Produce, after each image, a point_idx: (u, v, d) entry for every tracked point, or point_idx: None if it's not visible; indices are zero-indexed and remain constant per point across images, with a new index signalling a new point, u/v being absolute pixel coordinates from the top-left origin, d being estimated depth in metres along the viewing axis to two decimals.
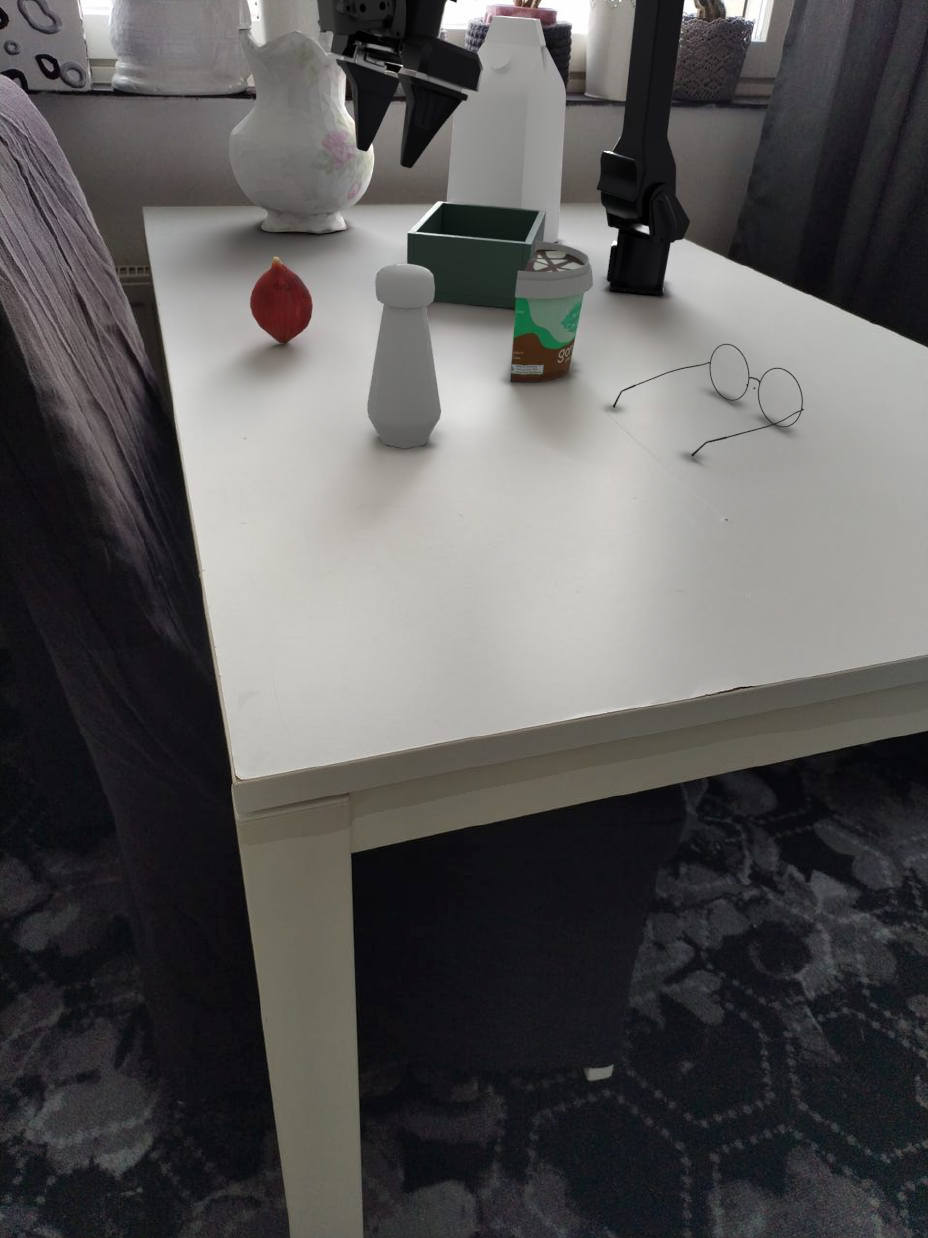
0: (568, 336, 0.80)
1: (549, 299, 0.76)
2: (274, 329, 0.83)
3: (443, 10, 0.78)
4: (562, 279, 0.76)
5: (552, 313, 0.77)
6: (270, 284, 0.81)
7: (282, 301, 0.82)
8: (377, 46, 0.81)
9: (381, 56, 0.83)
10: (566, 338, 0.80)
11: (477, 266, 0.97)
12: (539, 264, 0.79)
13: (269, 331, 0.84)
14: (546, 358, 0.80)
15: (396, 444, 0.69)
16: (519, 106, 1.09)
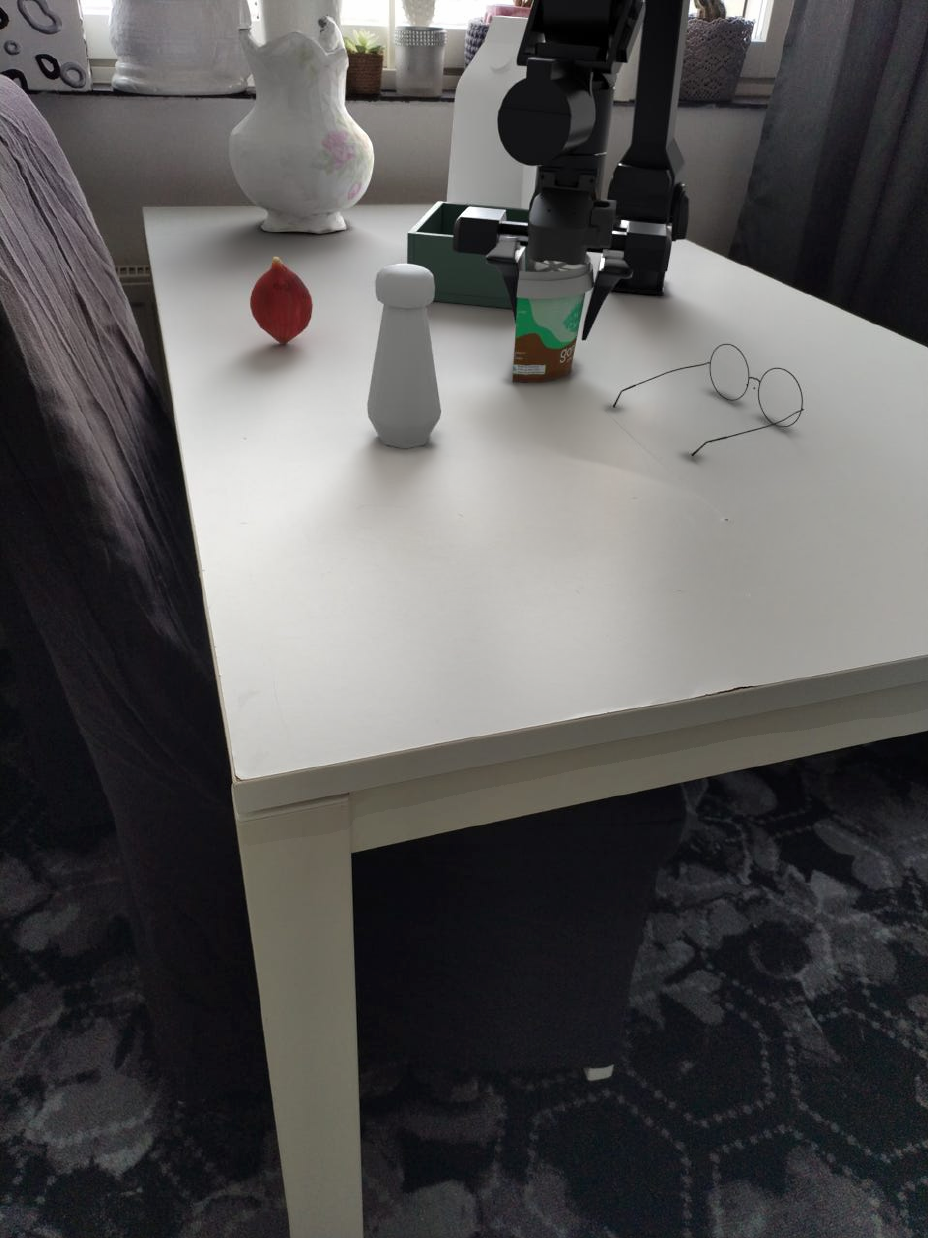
0: (570, 336, 0.80)
1: (551, 299, 0.76)
2: (274, 329, 0.83)
3: None
4: (564, 279, 0.76)
5: (554, 313, 0.77)
6: (270, 284, 0.81)
7: (282, 301, 0.82)
8: None
9: (523, 241, 0.78)
10: (568, 338, 0.80)
11: (477, 266, 0.97)
12: (540, 264, 0.79)
13: (269, 331, 0.84)
14: (548, 358, 0.80)
15: (396, 444, 0.69)
16: None
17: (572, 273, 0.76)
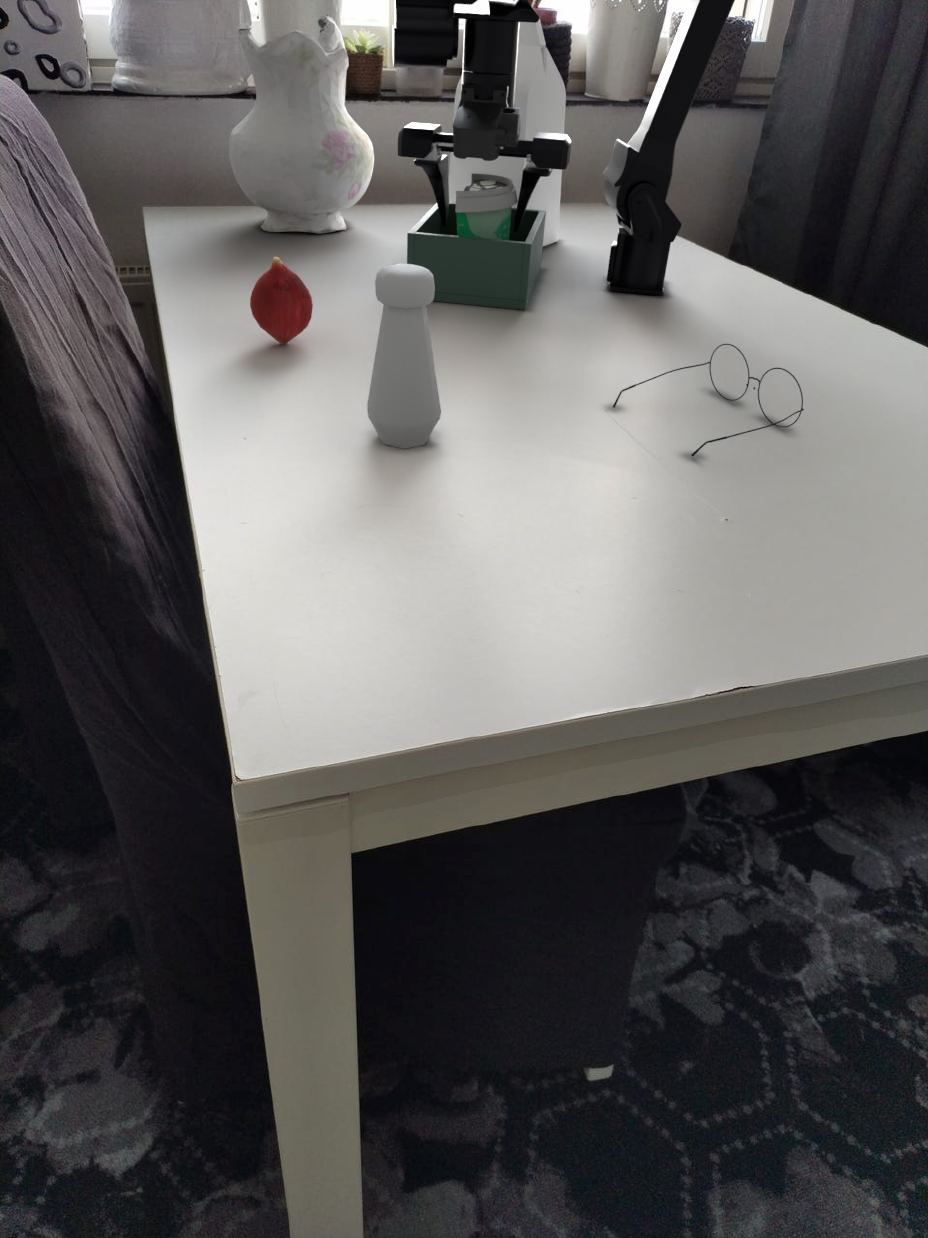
0: None
1: (483, 213, 0.98)
2: (274, 329, 0.83)
3: None
4: (491, 196, 0.97)
5: (486, 224, 0.99)
6: (270, 284, 0.81)
7: (282, 301, 0.82)
8: None
9: None
10: None
11: (477, 266, 0.97)
12: (473, 188, 1.00)
13: (269, 331, 0.84)
14: None
15: (396, 444, 0.69)
16: (519, 106, 1.09)
17: (498, 191, 0.97)
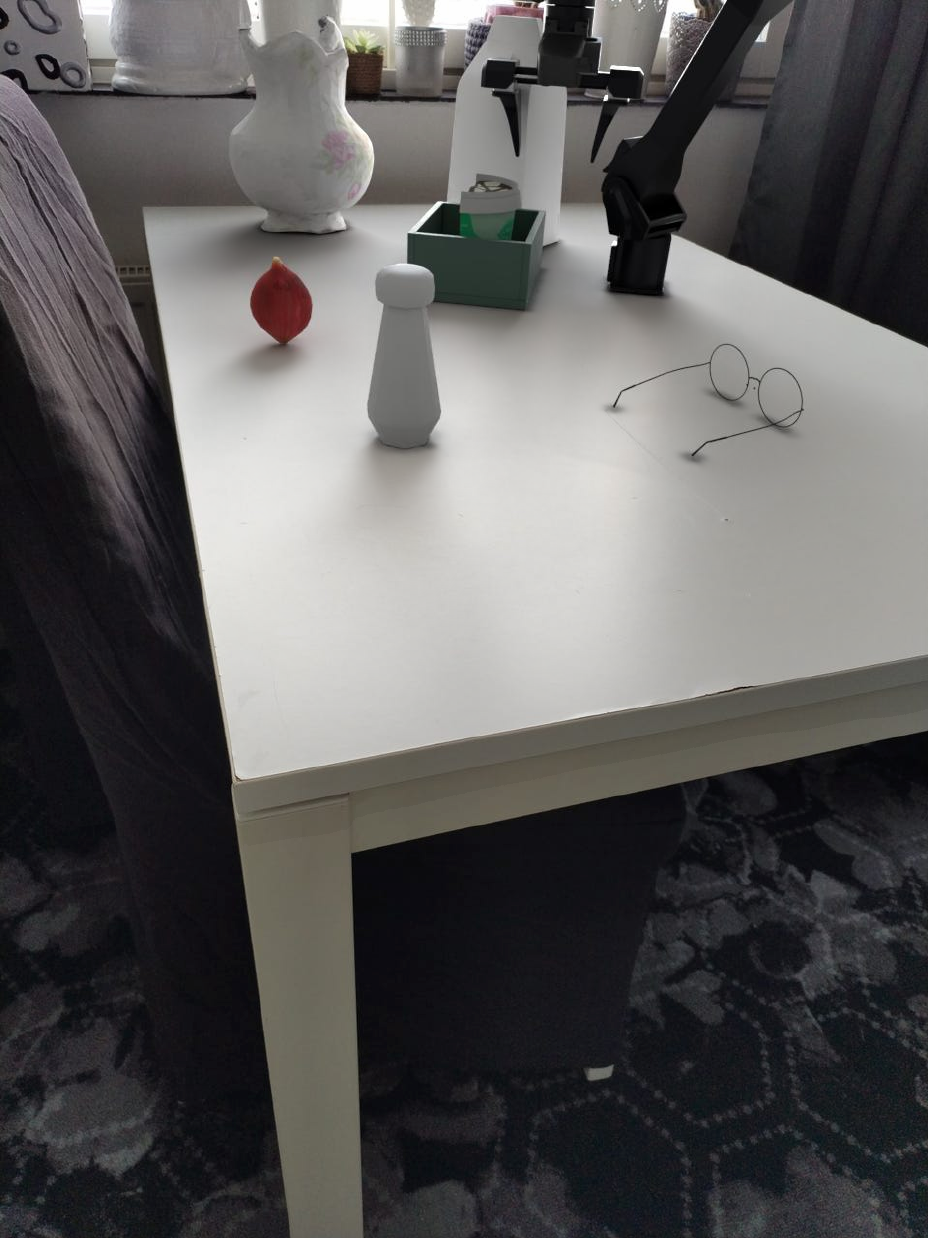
0: None
1: (486, 214, 0.98)
2: (274, 329, 0.83)
3: None
4: (496, 198, 0.97)
5: (490, 226, 0.99)
6: (270, 284, 0.81)
7: (282, 301, 0.82)
8: None
9: (533, 81, 1.04)
10: None
11: (477, 266, 0.97)
12: (478, 189, 1.00)
13: (269, 331, 0.84)
14: None
15: (396, 444, 0.69)
16: None
17: (503, 194, 0.97)
